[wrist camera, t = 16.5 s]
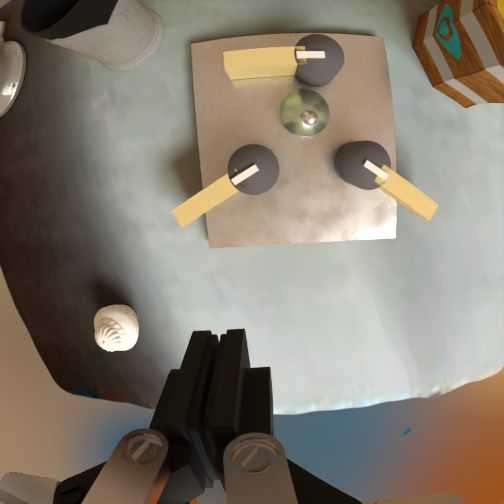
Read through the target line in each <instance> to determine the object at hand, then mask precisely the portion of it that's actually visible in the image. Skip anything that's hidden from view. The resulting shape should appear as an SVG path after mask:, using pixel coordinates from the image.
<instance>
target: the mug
mask: <svg viewBox="0 0 504 504" xmlns="http://www.w3.org/2000/svg"><path fill="white" fill-rule="evenodd" d="M412 47H413V49H414V51H415V53H416V55H417V56H418V58H419V60H420V62H421V64H422V66H423V68H424V70H425V72H426V74H427V76H428V78H429V80H430V82H431V84H432V87H434V88H435V89H437V90H439V91H440V92H442V93H444V94H445V95H447V96H448V97H450V98H451V99H453V100H454V101H456V102H457V103H459V104H460V105H462V106H463V107H465V108H468V107H470V106H473V105H476V104H481V103H504V0H441V1H440V3H439V4H438V5H436V6H435V7H434V8H433V9H431V10H430V11H428V12H426V13H424V14H422V15H420V16H419V20H418V24H417V29H416V33H415V38H414V42H413V46H412Z"/></svg>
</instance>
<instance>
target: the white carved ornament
mask: <svg viewBox="0 0 504 504" xmlns="http://www.w3.org/2000/svg"><path fill="white" fill-rule="evenodd" d="M94 326H95V339H96V342H97V343H98V344H99V346H100V347H102V348H103V349H106V350H107V351H111V352H113V351H114V350H115V351H117V350H119V351H124V350H128V349H130V348H132V347H133V346H134V345H135V343H136V341H137V339H138V331H139V328H138V320H137V315H136V313H135V311H134V310H133V309H132V308H131V307H129V306H127V305H109V306H107V307H103V308H101V309H100V310H99V311H98V312H97V314H96V316H95V319H94Z"/></svg>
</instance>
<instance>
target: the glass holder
mask: <svg viewBox="0 0 504 504" xmlns="http://www.w3.org/2000/svg"><path fill="white" fill-rule="evenodd" d="M21 25H22V27H23V29H24V30H25V31H26V32H28V33H31V34H34V35H37V36H40V37H43V38H45V40H46V41H48V42H51V43H53V44H56V45H59V46H62V47H64V48H67V49H70V50H72V51H75V52H77V53H80V54H83V55H85V56H88V57H90V58H92V59H95V60H97V61H100V62H101V63H102V65H103V66H104V67H106V68H107V69H109V70H111V71H115V72H126V71H130V70H133V69H135V68H138V67H139V66H141V65H143V64H144V63H145V62H147V61H148V60H149V59H150V58H151V57H152V56H153V55H154V54H155V52H156V51H157V50H158V48H159V46H160V44H161V42H162V39H163V35H164V25H163V21H162V19H161V17H160V16H159V15H158V14H157V13H156V12H154V11H153V10H150V9H147V8H146V7H145V6H144V5H143V4H142V3H140V2H139V1H138V0H25V2H24V5H23V7H22V11H21Z"/></svg>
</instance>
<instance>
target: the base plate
mask: <svg viewBox="0 0 504 504" xmlns="http://www.w3.org/2000/svg"><path fill="white" fill-rule="evenodd" d="M310 34H323V35H326V36H329V37H331V38H332V39H334V40H335V41H336V42H337V43H338V44H339V45H340V46H341V48H342V50H343V52H344V58H345V59H344V65H343V67H342V69H341V70H340V71H339V72H338V74H337V75H336V76H335V77H334V78H333V79H332V80H331V82H329V83H328V84H326V85H324V86H321V87H311V86H307V85H305V84H303V83H301V82H300V81H299V80H298V79H297V78H296V77H295V75H290V76H270V77H257V78H245V79H235V80H231V79H230V78H229V76H228V75H227V73H226V71H225V67H224V55H223V52H227V51H235V50H245V49H256V48H270V47H292V46H296V44H297V43H298V41H299V40H300V39H302V38H303V37H305V36H307V35H310ZM191 53H192V70H193V85H194V99H195V112H196V124H197V135H198V147H199V157H200V167H201V177H202V187H203V189H205V188H206V187H208V186H209V185H211V184H212V183H214V182H215V181H217V180H218V179H220V178H221V177H223V176H224V175H226V174H228V171H227V167H228V162H229V160H230V157H231V156H232V154H233V153H234V152H235V151H236V150H237V149H239V148H240V147H242V146H245V145H248V144H258V145H262V146H264V147H266V148H268V149H269V150H271V151H272V152H273V153H274V155H275V156H276V158H277V160H278V163H279V176H278V179H277V181H276V183H275V185H274V186H273V187H272V188H271V189H270V190H268V191H267V192H265V193H262V194H259V195H248V194H244V193H242V192H240V191H238V192H237V193H235V194H233V195H232V196H230V197H229V198H227V199H225V200H224V201H222V202H221V203H219V204H218V205H216V206H215V207H213V208H212V209H210V210H208V211H207V212H205V214H206V222H207V231H208V239H209V247H210V248H224V247H241V246H258V245H275V244H293V243H311V242H329V241H347V240H366V239H385V238H396V212H397V201H396V200H395V199H393V198H392V197H391V196H389V195H388V194H386V193H385V192H383V191H382V190H380V189H379V188H377V189H373V190H364V189H360V188H358V187H356V186H354V185H351V184H349V183H347V182H345V181H344V180H343V179H342V178H341V177H340V176H339V174H338V172H337V170H336V166H335V159H336V155H337V152H338V151H339V149H340V148H341V147H342V146H343V145H345V144H346V143H349V142H353V141H364V140H369V141H374V142H376V143H378V144H380V145H381V146H382V147H383V148H384V149H385V150H386V151H387V153H388V155H389V157H390V161H391V169H392V170H393V171H394V172H396V173H397V168H396V142H395V126H394V114H393V103H392V94H391V85H390V77H389V70H388V63H387V57H386V51H385V45H384V39H383V38H382V37H373V36H363V35H350V34H330V33H286V34H266V35H253V36H242V37H233V38H225V39H218V40H211V41H205V42H199V43H193V44H191Z"/></svg>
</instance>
